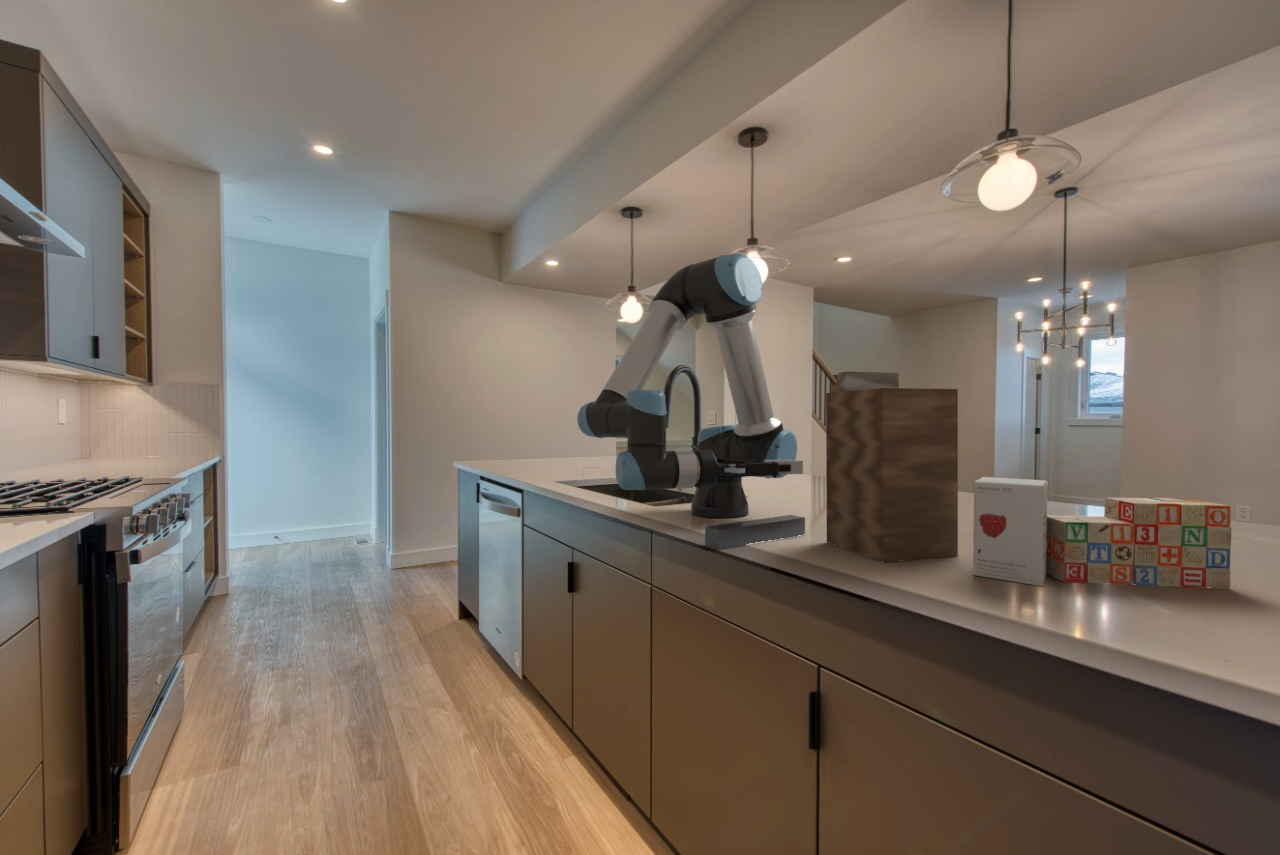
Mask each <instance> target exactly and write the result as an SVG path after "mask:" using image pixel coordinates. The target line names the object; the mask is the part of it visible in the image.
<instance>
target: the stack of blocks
mask: <svg viewBox="0 0 1280 855" xmlns="http://www.w3.org/2000/svg"><path fill="white" fill-rule="evenodd" d="M1231 508H1232V507H1231V505H1227V504H1222V503H1216V502H1209V501H1203V500H1198V499H1196V500H1195V499H1177V498H1171V497H1149V498H1146V497H1104V511H1103V512H1104V515H1103V516H1096V515H1095V516H1093V515H1066V514H1065V515H1062V514H1061V515H1060V514H1059V515H1057V514H1053V515H1052V514H1047V551H1046V575H1047V574H1048V575H1049V576H1051V575H1052V576H1051V577H1052V578H1055V579H1057V580H1058V581H1059V580H1060V581H1061V580H1062V582H1063V583H1064V582H1065V583H1083V582H1084V583H1085V584H1098V583H1110V584H1109V585H1118V584H1130V585H1129V586H1134V585H1133V584H1136V585H1135V586H1143V585H1159V586H1158V587H1168V586H1183V587H1182V588H1188V587H1211V588H1230V589H1231V569H1230V567H1231V548H1232V526H1231V511H1232V510H1231ZM1084 583H1083V584H1084ZM1160 585H1162V586H1160Z"/></svg>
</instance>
